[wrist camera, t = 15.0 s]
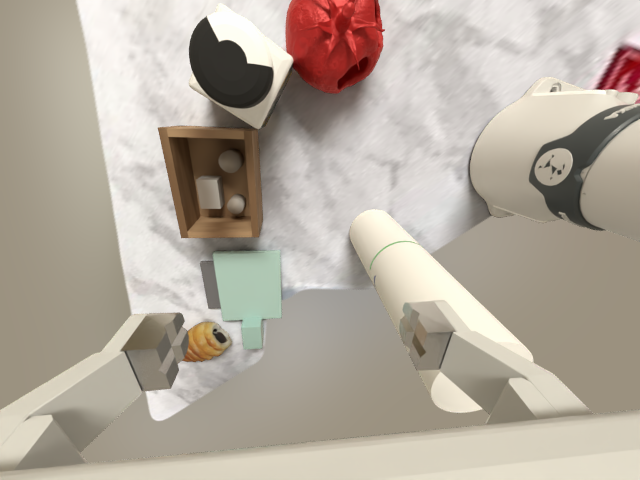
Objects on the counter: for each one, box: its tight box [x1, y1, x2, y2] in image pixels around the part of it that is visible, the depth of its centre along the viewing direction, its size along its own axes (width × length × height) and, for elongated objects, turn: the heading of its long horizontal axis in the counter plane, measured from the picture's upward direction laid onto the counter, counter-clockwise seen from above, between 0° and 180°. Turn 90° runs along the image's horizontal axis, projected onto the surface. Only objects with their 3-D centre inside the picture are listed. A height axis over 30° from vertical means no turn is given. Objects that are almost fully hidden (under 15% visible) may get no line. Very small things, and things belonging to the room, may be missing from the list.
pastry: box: [182, 322, 232, 362], centre depth 44 cm, size 9×7×4 cm
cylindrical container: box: [349, 209, 533, 413], centre depth 28 cm, size 7×7×25 cm
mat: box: [200, 261, 221, 308], centre depth 41 cm, size 10×9×1 cm
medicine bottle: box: [189, 3, 293, 129], centre depth 24 cm, size 7×7×12 cm
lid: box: [213, 250, 282, 349], centre depth 40 cm, size 10×17×3 cm, turn 178°
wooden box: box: [158, 126, 263, 238], centre depth 31 cm, size 9×12×6 cm
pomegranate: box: [286, 0, 385, 94], centre depth 25 cm, size 10×10×9 cm
